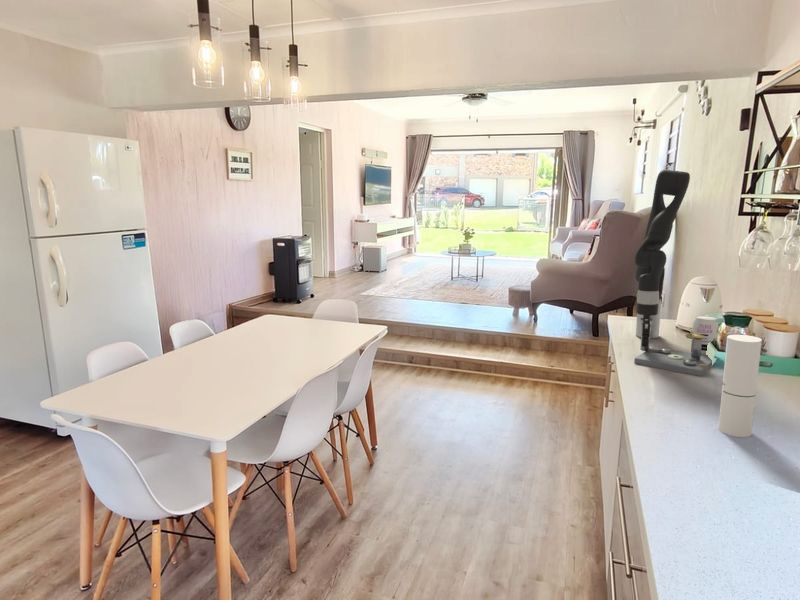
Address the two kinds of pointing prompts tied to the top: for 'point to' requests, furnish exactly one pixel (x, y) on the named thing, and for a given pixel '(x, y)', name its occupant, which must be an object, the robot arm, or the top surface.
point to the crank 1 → (661, 350)
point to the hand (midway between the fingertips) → (644, 345)
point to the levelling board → (674, 361)
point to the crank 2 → (694, 350)
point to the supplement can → (705, 330)
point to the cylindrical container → (739, 385)
